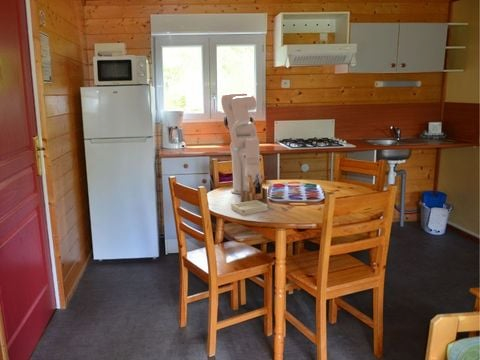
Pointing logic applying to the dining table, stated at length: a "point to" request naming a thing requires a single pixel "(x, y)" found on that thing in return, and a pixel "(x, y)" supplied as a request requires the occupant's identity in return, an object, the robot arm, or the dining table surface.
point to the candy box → (252, 189)
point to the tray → (249, 207)
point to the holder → (245, 198)
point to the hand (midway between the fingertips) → (253, 191)
